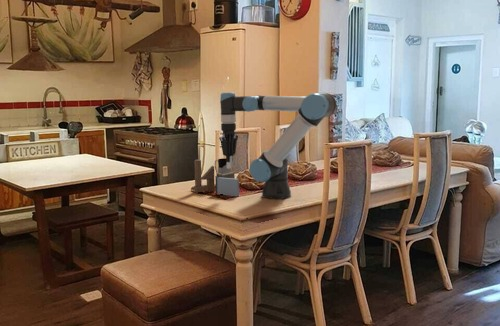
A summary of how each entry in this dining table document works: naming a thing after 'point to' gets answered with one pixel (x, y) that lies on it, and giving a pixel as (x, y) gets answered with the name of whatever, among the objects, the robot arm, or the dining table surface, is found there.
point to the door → (228, 186)
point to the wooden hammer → (203, 178)
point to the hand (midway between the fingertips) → (229, 168)
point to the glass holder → (222, 166)
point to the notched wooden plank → (227, 175)
